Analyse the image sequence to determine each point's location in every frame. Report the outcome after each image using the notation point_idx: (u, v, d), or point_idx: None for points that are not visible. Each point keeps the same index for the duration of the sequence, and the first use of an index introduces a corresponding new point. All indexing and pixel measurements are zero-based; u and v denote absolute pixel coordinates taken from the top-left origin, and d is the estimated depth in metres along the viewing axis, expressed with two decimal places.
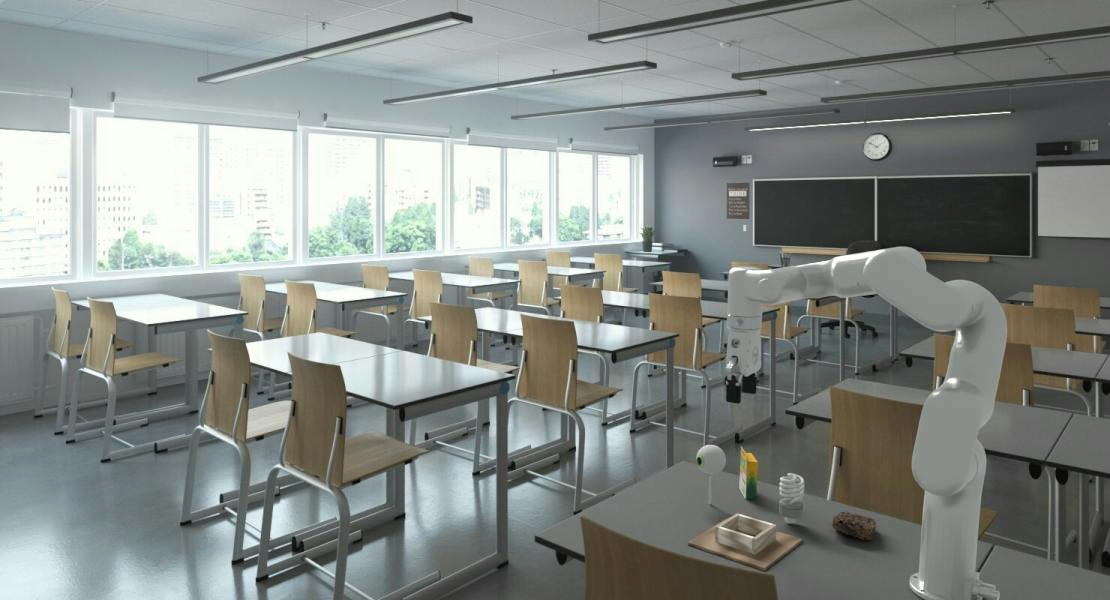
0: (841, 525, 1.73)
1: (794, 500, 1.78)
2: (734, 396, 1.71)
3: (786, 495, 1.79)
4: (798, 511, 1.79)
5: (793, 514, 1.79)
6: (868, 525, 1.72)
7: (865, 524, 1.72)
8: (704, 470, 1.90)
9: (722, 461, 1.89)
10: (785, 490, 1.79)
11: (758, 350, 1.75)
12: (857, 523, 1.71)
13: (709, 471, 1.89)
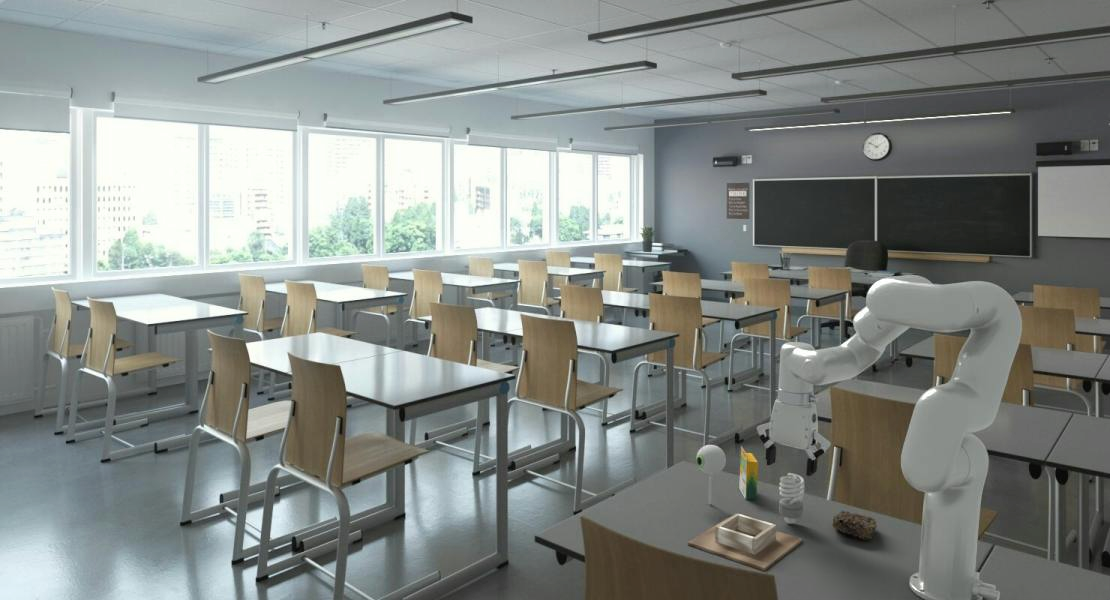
0: (841, 524, 1.74)
1: (794, 500, 1.78)
2: (816, 467, 1.77)
3: (786, 495, 1.79)
4: (798, 511, 1.79)
5: (793, 514, 1.79)
6: (868, 524, 1.72)
7: (865, 523, 1.72)
8: (704, 470, 1.90)
9: (722, 461, 1.89)
10: (785, 490, 1.79)
11: None
12: (857, 522, 1.72)
13: (709, 471, 1.89)
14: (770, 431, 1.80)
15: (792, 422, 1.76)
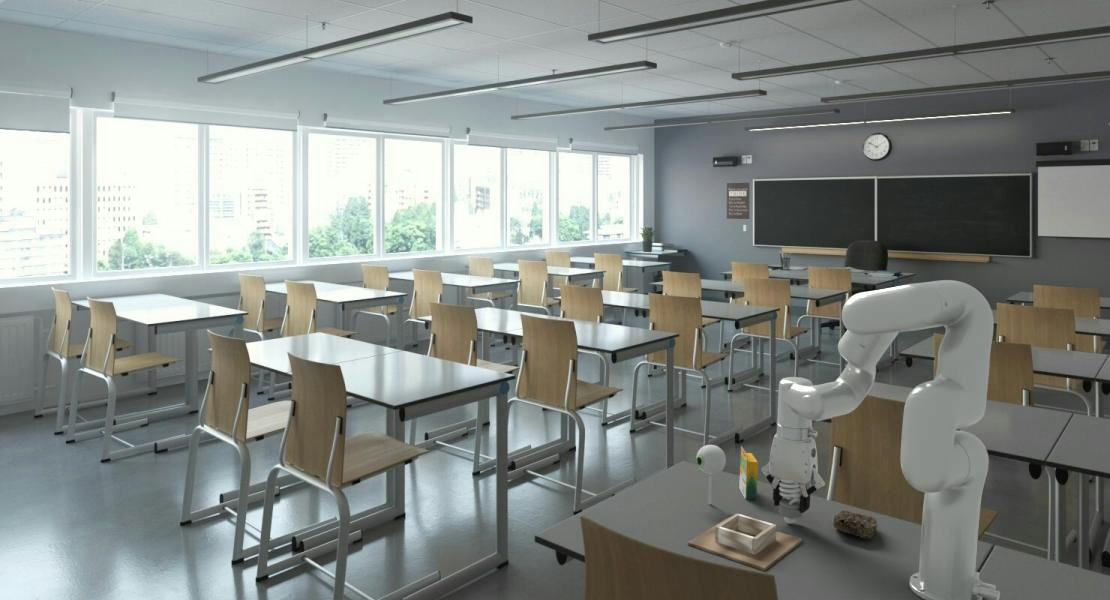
0: (842, 524, 1.74)
1: (794, 500, 1.78)
2: (809, 504, 1.79)
3: (786, 495, 1.79)
4: (798, 511, 1.79)
5: (793, 514, 1.79)
6: (869, 524, 1.72)
7: (866, 523, 1.73)
8: (704, 470, 1.90)
9: (722, 461, 1.89)
10: (785, 490, 1.79)
11: None
12: (858, 522, 1.72)
13: (709, 471, 1.89)
14: (770, 466, 1.81)
15: (792, 457, 1.77)
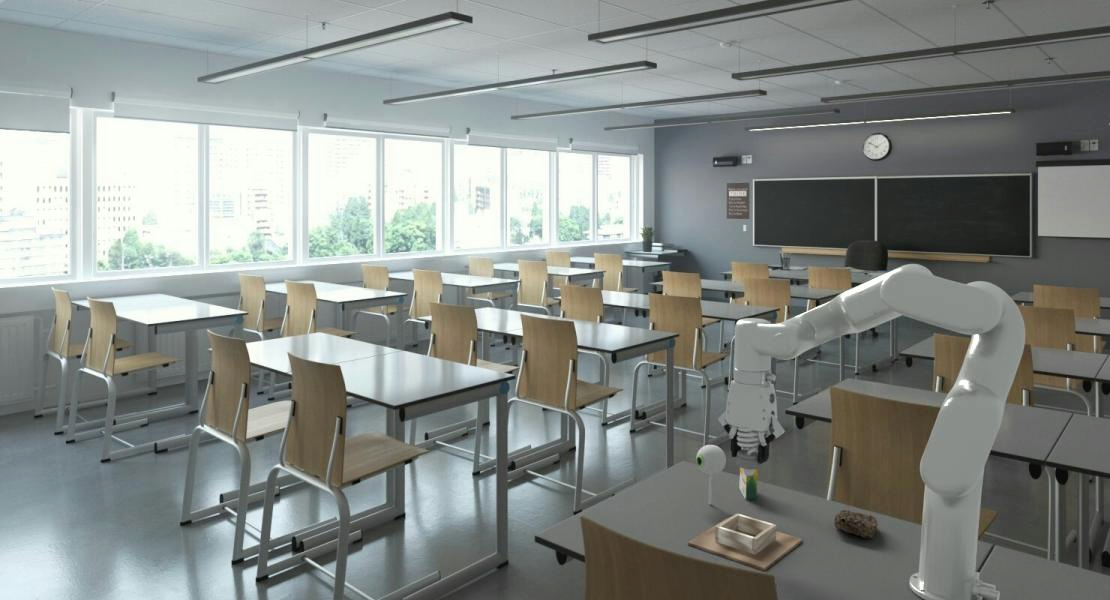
0: (843, 523, 1.74)
1: (752, 450, 1.66)
2: (768, 454, 1.67)
3: (743, 444, 1.67)
4: (756, 462, 1.67)
5: (751, 465, 1.67)
6: (870, 523, 1.73)
7: (867, 522, 1.73)
8: (704, 470, 1.90)
9: (722, 461, 1.89)
10: (742, 439, 1.67)
11: None
12: (859, 521, 1.72)
13: (709, 471, 1.89)
14: (727, 414, 1.69)
15: (749, 403, 1.65)
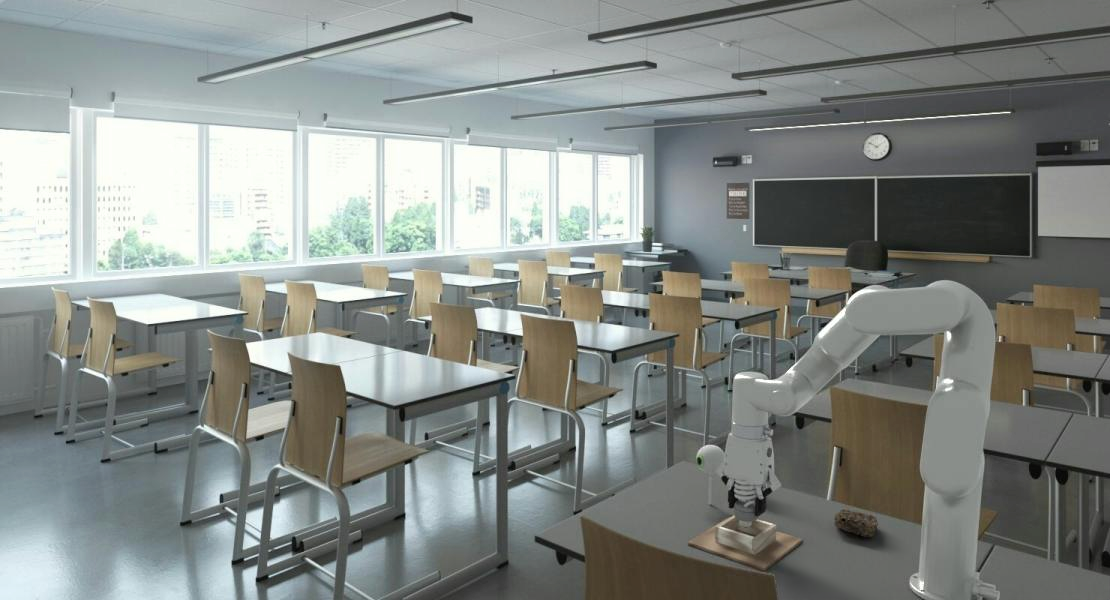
0: (843, 523, 1.74)
1: (749, 502, 1.68)
2: (765, 507, 1.68)
3: (741, 497, 1.68)
4: (753, 514, 1.68)
5: (748, 517, 1.68)
6: (870, 522, 1.73)
7: (867, 521, 1.73)
8: (704, 470, 1.90)
9: (722, 461, 1.89)
10: (740, 492, 1.68)
11: None
12: (859, 521, 1.73)
13: (709, 471, 1.89)
14: (724, 466, 1.71)
15: (746, 457, 1.66)
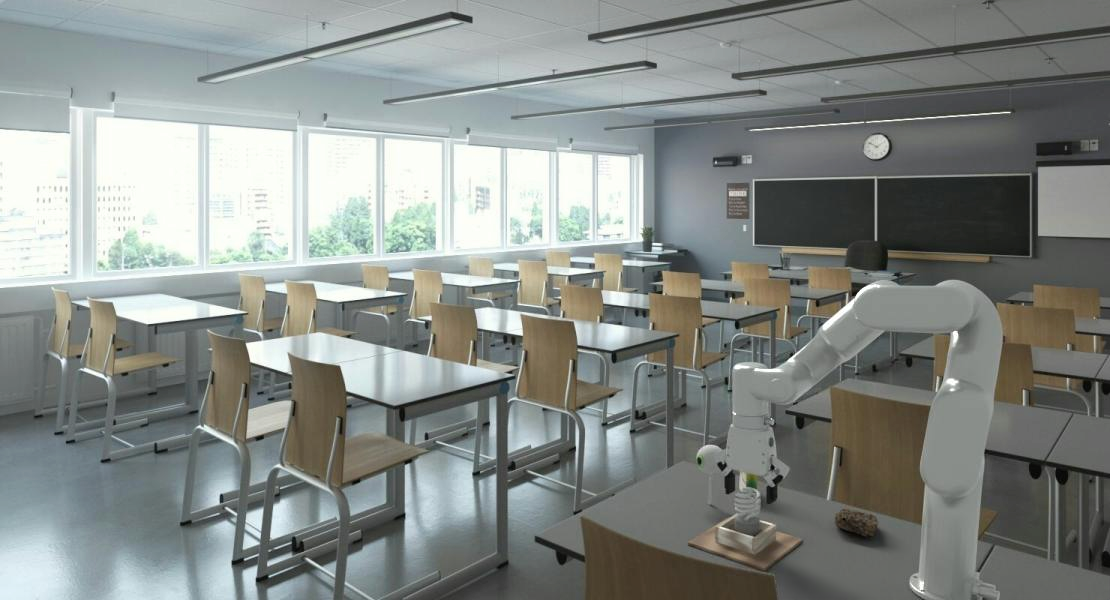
0: (844, 522, 1.75)
1: (750, 516, 1.68)
2: (776, 495, 1.66)
3: (741, 510, 1.68)
4: (754, 527, 1.68)
5: (749, 530, 1.68)
6: (870, 522, 1.74)
7: (867, 521, 1.74)
8: (704, 470, 1.90)
9: None
10: (740, 505, 1.68)
11: None
12: (860, 520, 1.73)
13: (709, 471, 1.89)
14: (727, 458, 1.70)
15: (748, 447, 1.66)
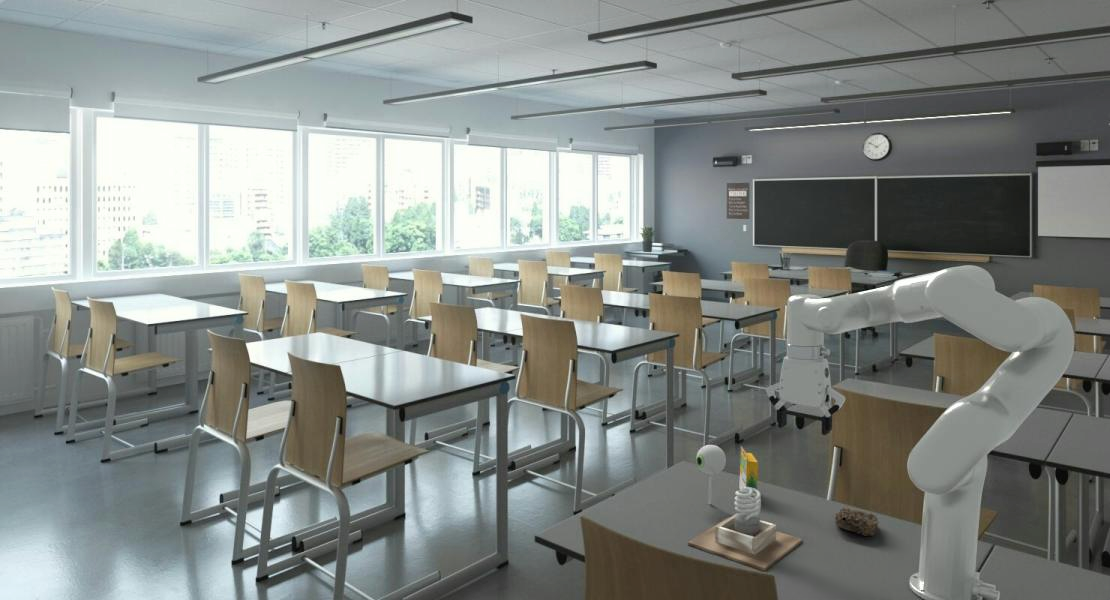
0: (844, 522, 1.75)
1: (750, 515, 1.68)
2: (831, 426, 1.67)
3: (741, 510, 1.68)
4: (754, 527, 1.69)
5: (749, 530, 1.68)
6: (871, 521, 1.74)
7: (868, 520, 1.74)
8: (704, 470, 1.90)
9: (722, 461, 1.89)
10: (740, 505, 1.68)
11: None
12: (860, 520, 1.73)
13: (709, 471, 1.89)
14: (780, 391, 1.70)
15: (804, 378, 1.66)
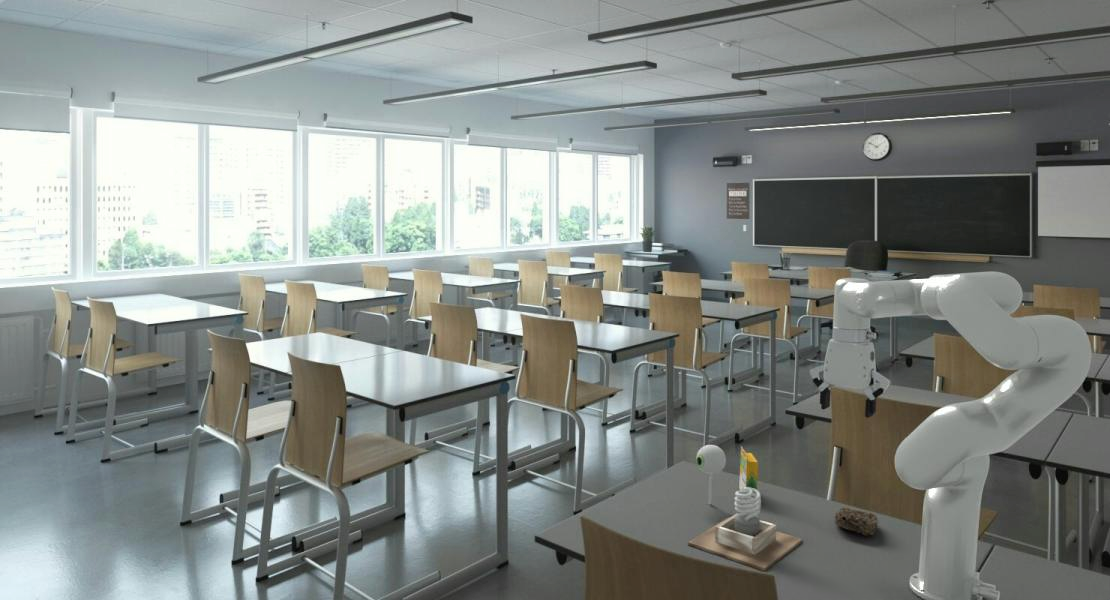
0: (844, 521, 1.75)
1: (750, 516, 1.68)
2: (875, 409, 1.68)
3: (741, 511, 1.68)
4: (754, 527, 1.68)
5: (749, 531, 1.68)
6: (871, 521, 1.74)
7: (868, 520, 1.74)
8: (704, 470, 1.90)
9: (722, 461, 1.89)
10: (740, 505, 1.68)
11: None
12: (860, 519, 1.73)
13: (709, 471, 1.89)
14: (825, 373, 1.72)
15: (849, 361, 1.68)
